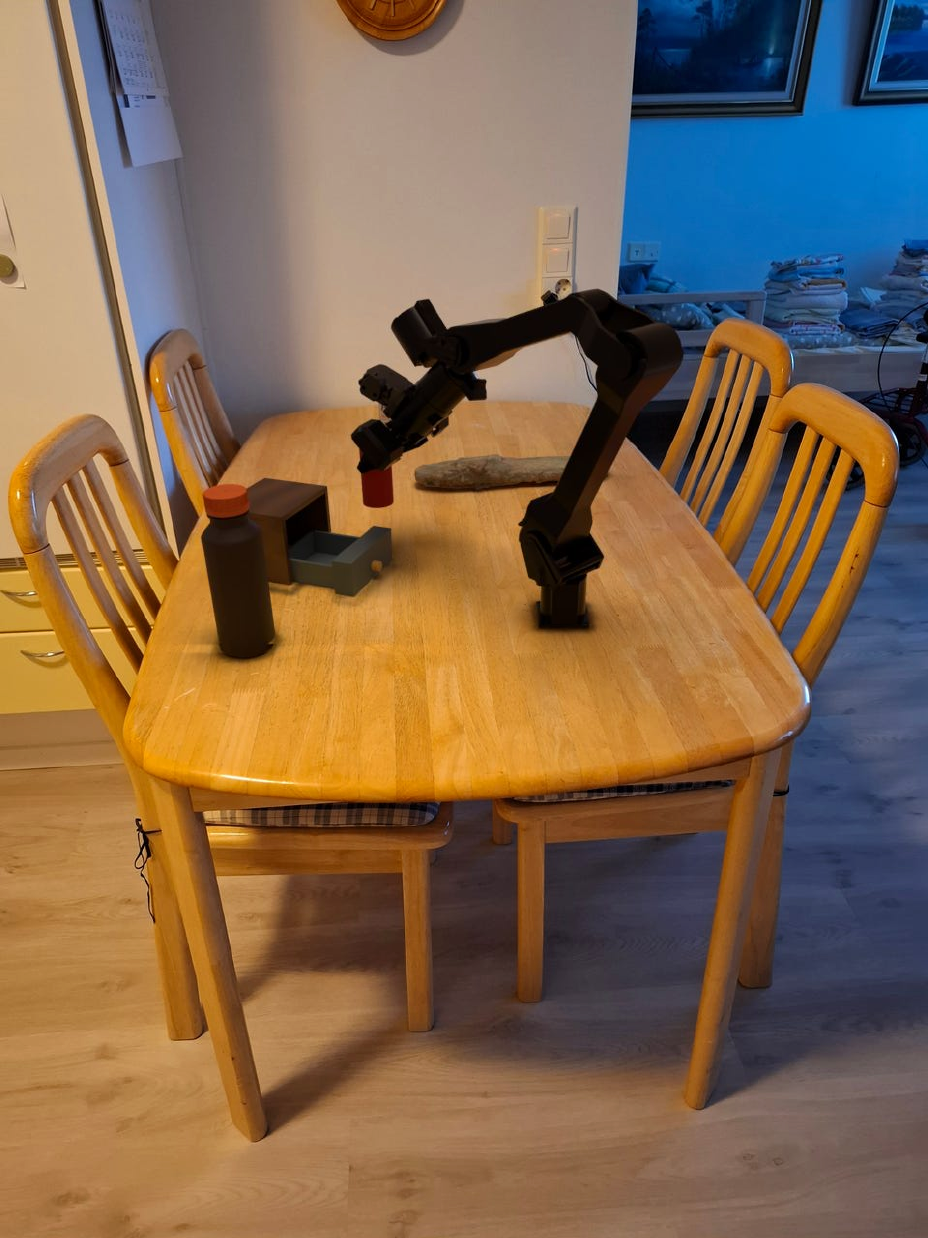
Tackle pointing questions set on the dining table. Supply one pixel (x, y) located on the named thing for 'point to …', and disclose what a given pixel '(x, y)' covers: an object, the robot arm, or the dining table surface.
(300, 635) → the dining table surface
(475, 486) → the elongated rock
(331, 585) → the drawer
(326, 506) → the cubby
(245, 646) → the bottle
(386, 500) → the roller
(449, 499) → the dining table surface
